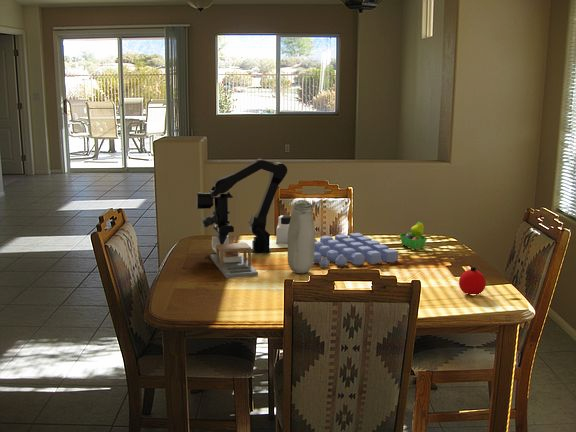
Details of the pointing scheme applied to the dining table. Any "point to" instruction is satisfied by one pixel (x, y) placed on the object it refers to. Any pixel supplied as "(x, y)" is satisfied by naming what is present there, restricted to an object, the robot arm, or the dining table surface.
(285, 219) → the medicine bottle
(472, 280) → the ornament
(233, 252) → the block
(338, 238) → the blocks
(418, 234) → the fruit basket
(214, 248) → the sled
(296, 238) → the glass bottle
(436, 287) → the dining table surface
